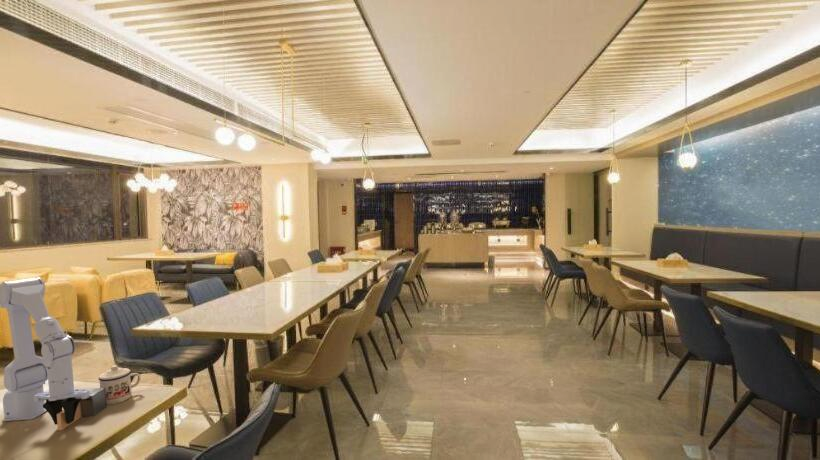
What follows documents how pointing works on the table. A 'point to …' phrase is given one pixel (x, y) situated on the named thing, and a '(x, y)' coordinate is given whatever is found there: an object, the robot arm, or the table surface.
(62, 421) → the long wooden plank
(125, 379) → the teacup with lid
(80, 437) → the table surface
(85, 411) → the dispenser
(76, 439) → the table surface
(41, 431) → the table surface
